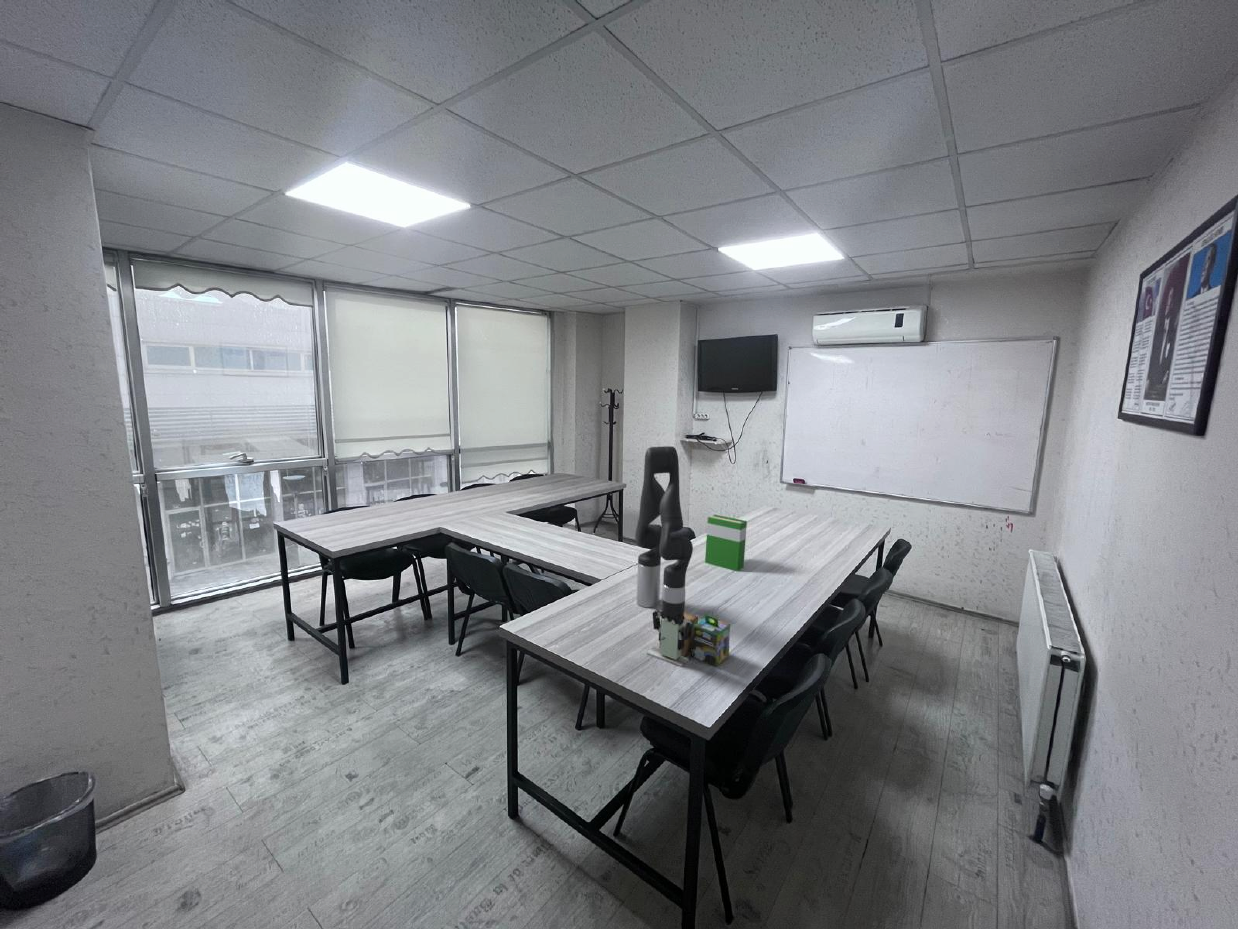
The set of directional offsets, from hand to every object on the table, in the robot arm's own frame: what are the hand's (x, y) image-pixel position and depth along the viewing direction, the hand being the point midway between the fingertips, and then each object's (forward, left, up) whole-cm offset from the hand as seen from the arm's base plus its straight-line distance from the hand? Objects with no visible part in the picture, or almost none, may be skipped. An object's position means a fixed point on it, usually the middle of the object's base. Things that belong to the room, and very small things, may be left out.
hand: (670, 645), depth 162 cm
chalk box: (-9, +10, -5) cm, 14 cm away
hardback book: (-93, -19, -5) cm, 95 cm away
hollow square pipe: (0, 0, -3) cm, 3 cm away
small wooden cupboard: (-5, -1, -4) cm, 7 cm away
